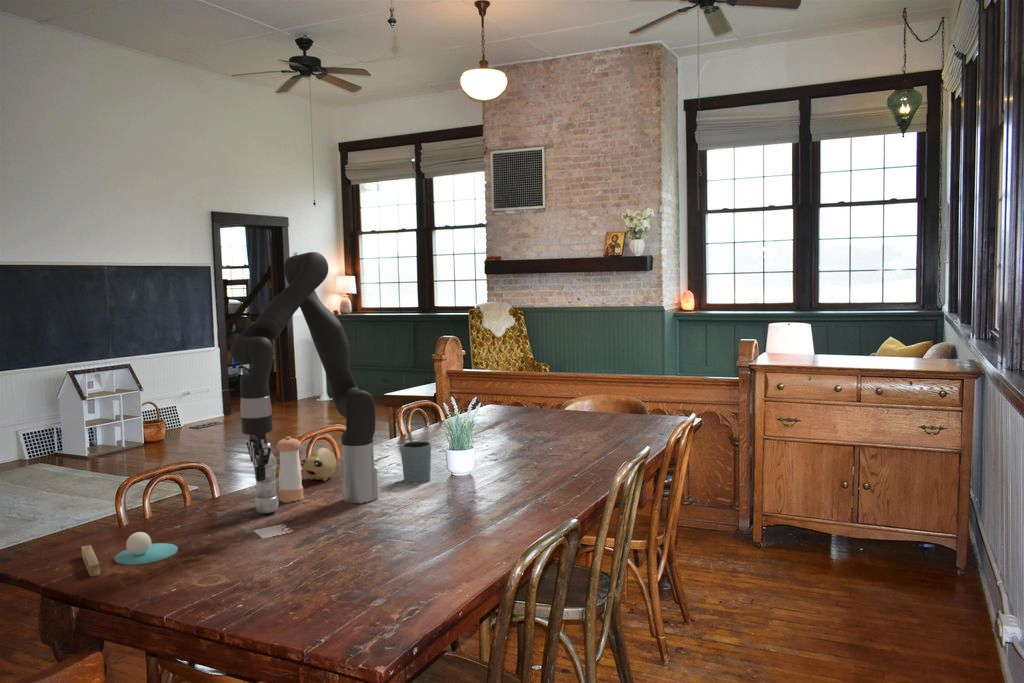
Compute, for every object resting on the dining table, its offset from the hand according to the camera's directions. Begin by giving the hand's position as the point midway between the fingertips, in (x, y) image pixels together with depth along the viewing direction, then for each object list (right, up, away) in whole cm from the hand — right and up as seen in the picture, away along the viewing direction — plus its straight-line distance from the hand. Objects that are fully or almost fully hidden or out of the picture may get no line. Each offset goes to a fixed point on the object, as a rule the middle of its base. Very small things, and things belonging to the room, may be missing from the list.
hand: (260, 480), depth 198 cm
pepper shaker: (-2, -12, +33) cm, 35 cm away
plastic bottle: (-5, -13, +20) cm, 24 cm away
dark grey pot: (+34, -10, +52) cm, 63 cm away
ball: (-25, -13, -12) cm, 31 cm away
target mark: (-24, -16, -12) cm, 31 cm away
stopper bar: (-34, -17, -19) cm, 42 cm away
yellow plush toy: (+2, -10, +55) cm, 56 cm away
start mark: (+2, -14, +3) cm, 15 cm away
